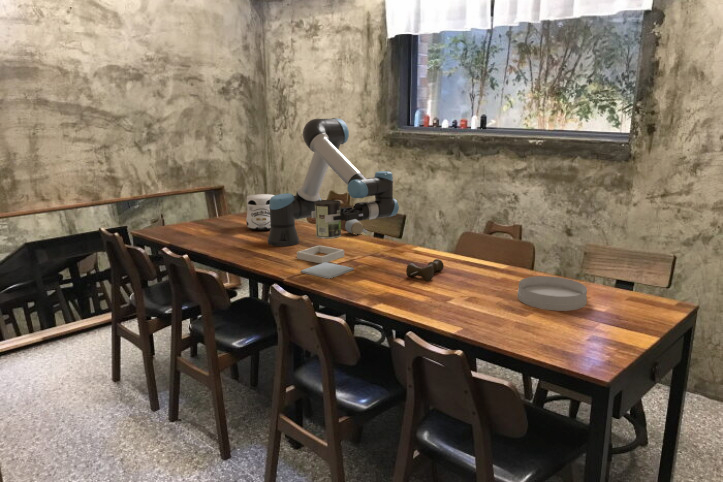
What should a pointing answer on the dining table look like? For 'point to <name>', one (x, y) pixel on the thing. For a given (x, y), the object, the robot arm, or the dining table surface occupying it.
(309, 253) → the frame
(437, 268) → the kendama
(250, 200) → the milk container
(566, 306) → the dish
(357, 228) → the ceramic mug
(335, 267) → the mat
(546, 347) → the dining table surface
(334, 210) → the coffee can
